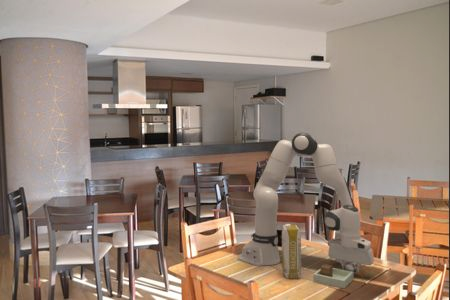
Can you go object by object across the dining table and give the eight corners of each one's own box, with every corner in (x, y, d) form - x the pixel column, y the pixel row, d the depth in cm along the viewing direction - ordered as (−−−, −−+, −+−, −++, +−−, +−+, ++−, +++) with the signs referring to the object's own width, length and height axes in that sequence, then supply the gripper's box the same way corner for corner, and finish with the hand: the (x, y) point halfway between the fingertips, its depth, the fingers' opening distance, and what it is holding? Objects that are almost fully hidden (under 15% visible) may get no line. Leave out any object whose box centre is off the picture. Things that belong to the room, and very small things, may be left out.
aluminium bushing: (344, 274, 183) (344, 264, 182) (347, 271, 186) (347, 261, 186) (353, 276, 180) (353, 265, 180) (356, 273, 184) (356, 263, 183)
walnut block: (329, 279, 176) (329, 268, 175) (320, 277, 178) (320, 266, 178) (332, 276, 179) (332, 265, 179) (324, 274, 181) (324, 264, 181)
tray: (313, 281, 176) (313, 274, 176) (323, 272, 186) (323, 265, 186) (344, 288, 168) (344, 280, 168) (353, 279, 177) (353, 271, 177)
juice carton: (281, 272, 188) (280, 222, 187) (298, 271, 188) (297, 221, 187) (284, 279, 179) (284, 227, 177) (302, 279, 179) (301, 226, 177)
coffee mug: (273, 247, 226) (272, 229, 226) (273, 242, 235) (273, 226, 234) (293, 247, 224) (293, 230, 224) (293, 243, 233) (293, 226, 232)
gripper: (326, 239, 186) (326, 268, 187) (370, 246, 174) (370, 277, 175) (331, 236, 191) (331, 264, 192) (374, 242, 179) (374, 272, 180)
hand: (350, 270), depth 183 cm, fingers closed on aluminium bushing, 4 cm apart
